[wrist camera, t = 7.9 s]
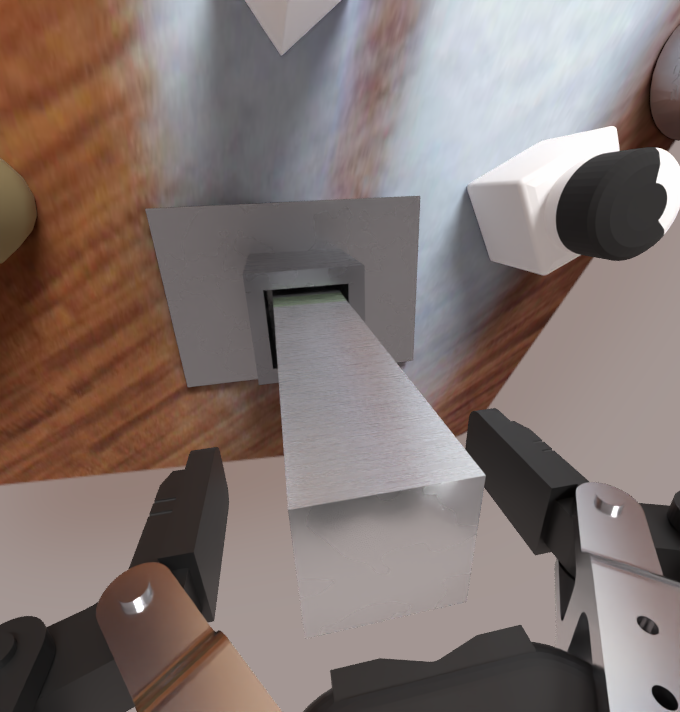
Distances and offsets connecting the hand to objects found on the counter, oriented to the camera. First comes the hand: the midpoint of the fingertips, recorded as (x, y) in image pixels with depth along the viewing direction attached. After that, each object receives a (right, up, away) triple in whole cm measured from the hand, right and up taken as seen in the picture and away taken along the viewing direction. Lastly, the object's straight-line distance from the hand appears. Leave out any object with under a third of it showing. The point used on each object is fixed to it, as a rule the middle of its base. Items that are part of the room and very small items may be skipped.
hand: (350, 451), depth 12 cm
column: (-3, +6, +13) cm, 14 cm away
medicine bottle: (+14, +16, +20) cm, 29 cm away
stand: (-4, +8, +19) cm, 21 cm away
